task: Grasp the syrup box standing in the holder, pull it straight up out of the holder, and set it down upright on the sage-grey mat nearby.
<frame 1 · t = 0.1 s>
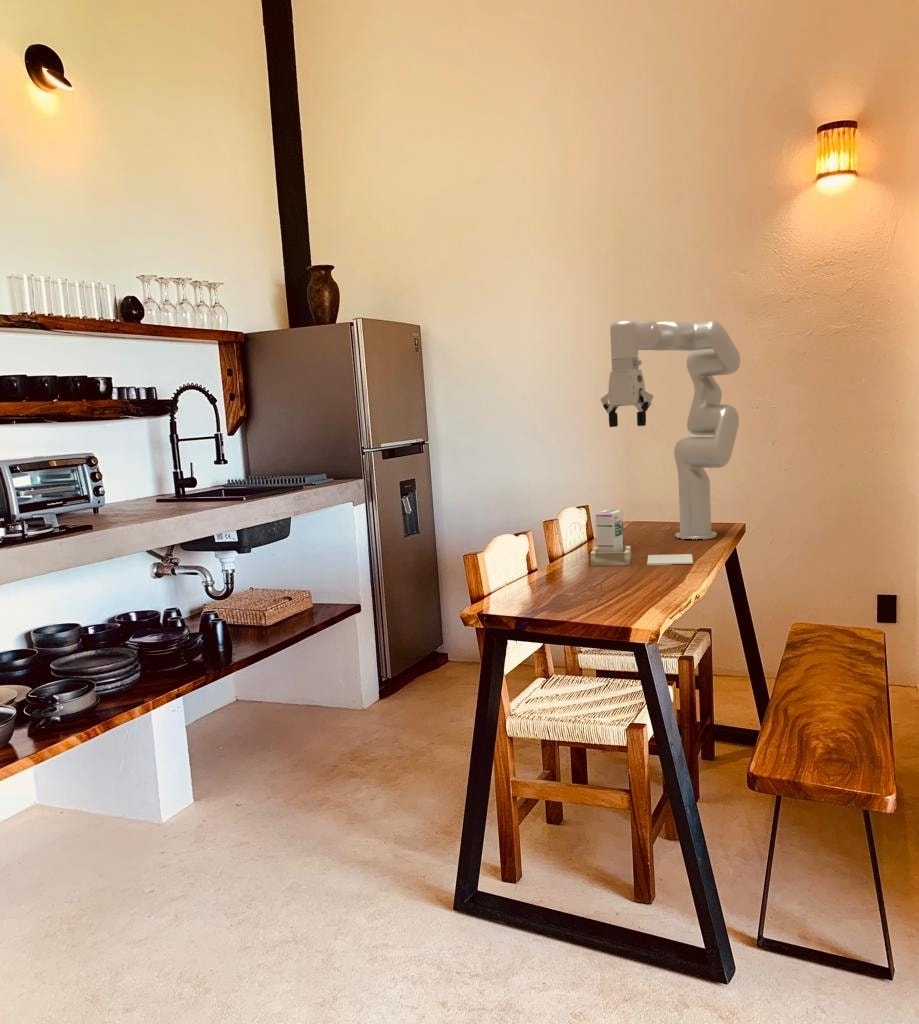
hand: (627, 426, 244), 37 cm above the table, tool pointing down, fingers open, 9 cm apart
syrup box: (611, 562, 240), resting in holder
holder: (611, 561, 240), on the table
mat: (670, 560, 236), on the table
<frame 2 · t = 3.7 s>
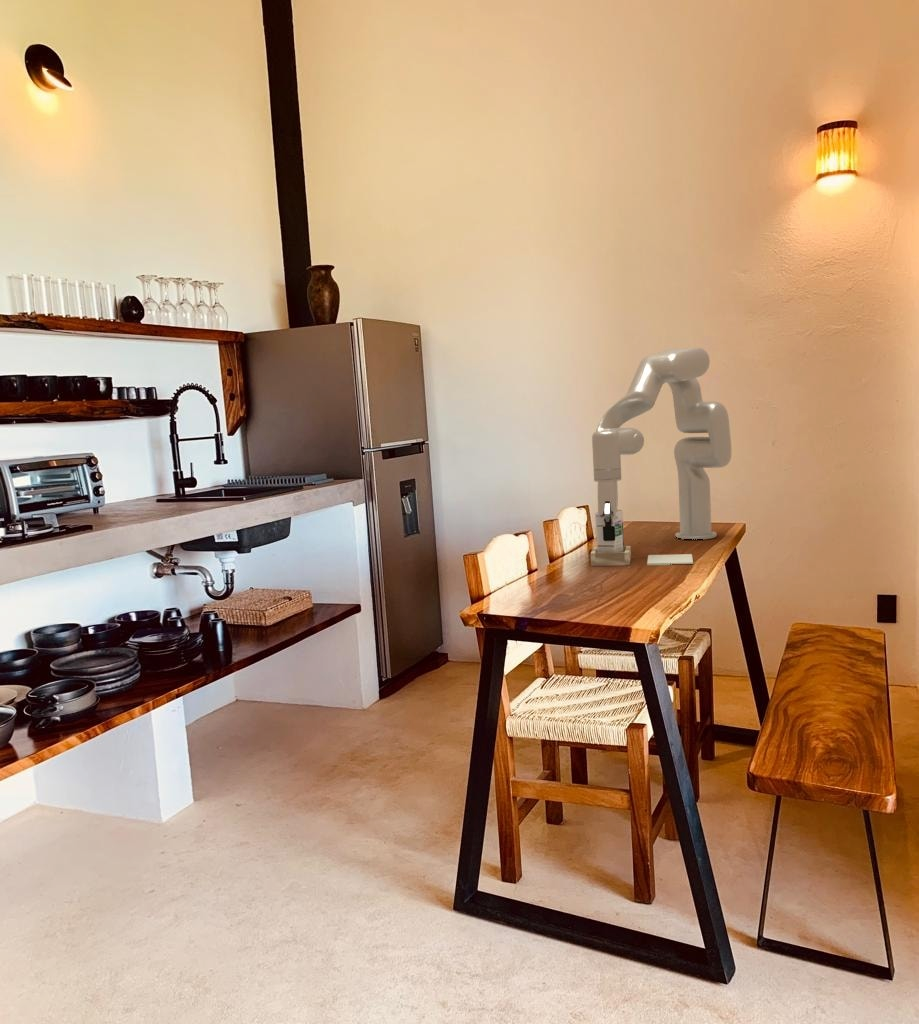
hand: (610, 537, 239), 7 cm above the table, tool pointing down, fingers closed on syrup box, 7 cm apart
syrup box: (611, 562, 240), resting in holder, touching gripper
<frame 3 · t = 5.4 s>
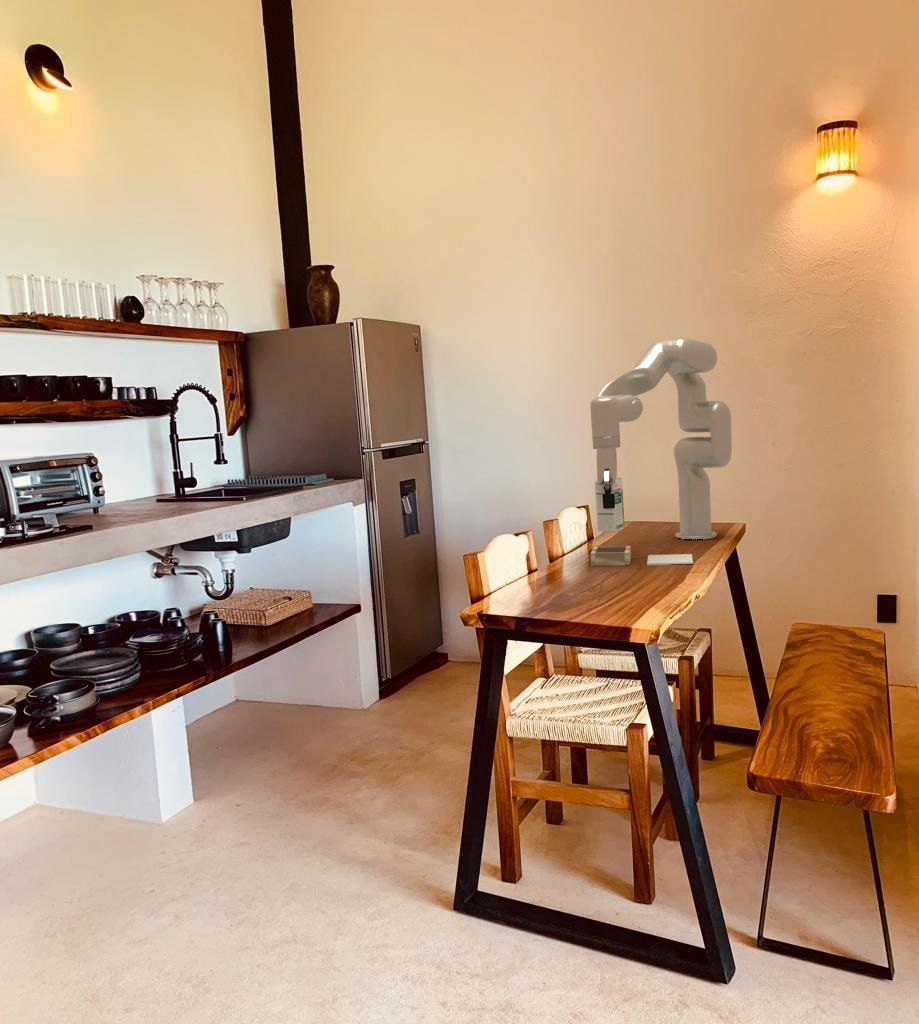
hand: (610, 505, 238), 16 cm above the table, tool pointing down, fingers closed on syrup box, 7 cm apart
syrup box: (610, 530, 239), point 9 cm above the table, touching gripper
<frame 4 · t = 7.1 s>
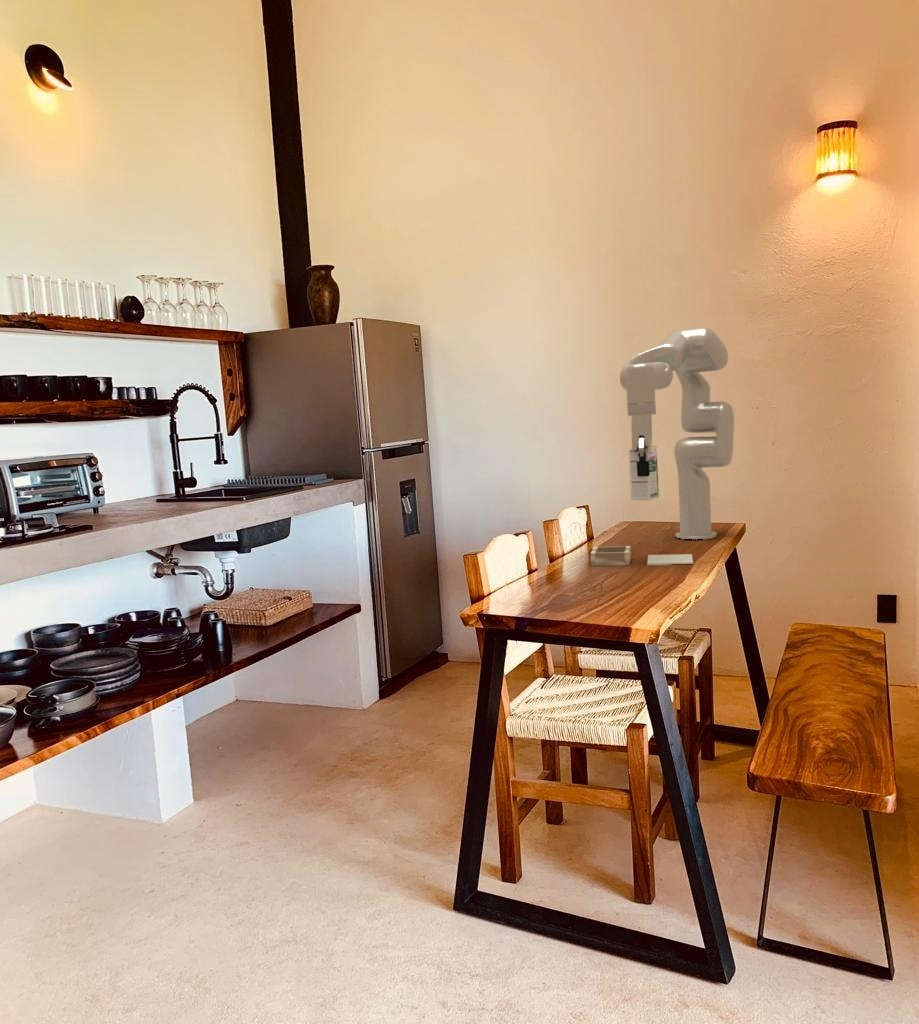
hand: (644, 474, 234), 24 cm above the table, tool pointing down, fingers closed on syrup box, 7 cm apart
syrup box: (644, 499, 235), point 17 cm above the table, touching gripper
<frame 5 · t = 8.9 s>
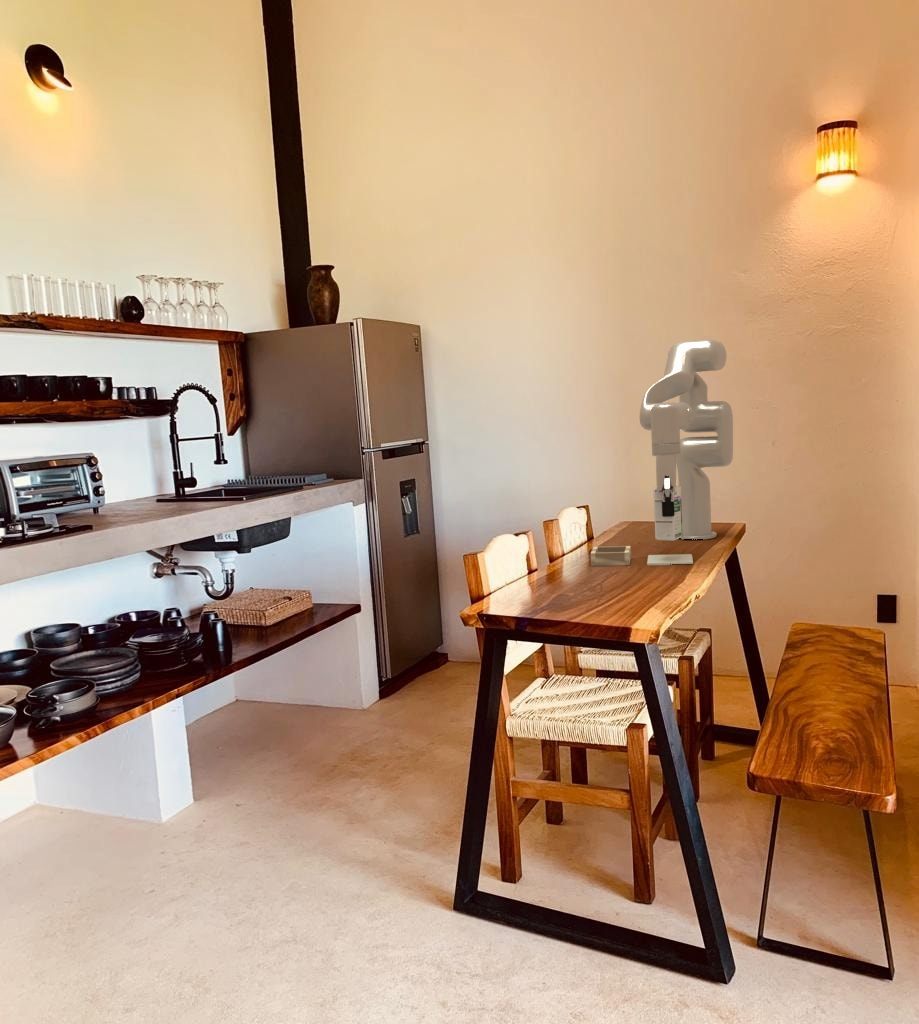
hand: (668, 513, 234), 13 cm above the table, tool pointing down, fingers closed on syrup box, 7 cm apart
syrup box: (668, 539, 235), point 6 cm above the table, touching gripper
when the fingers open (9 cm above the table, at t = 10.7 s): syrup box drops 1 cm, resting on mat.
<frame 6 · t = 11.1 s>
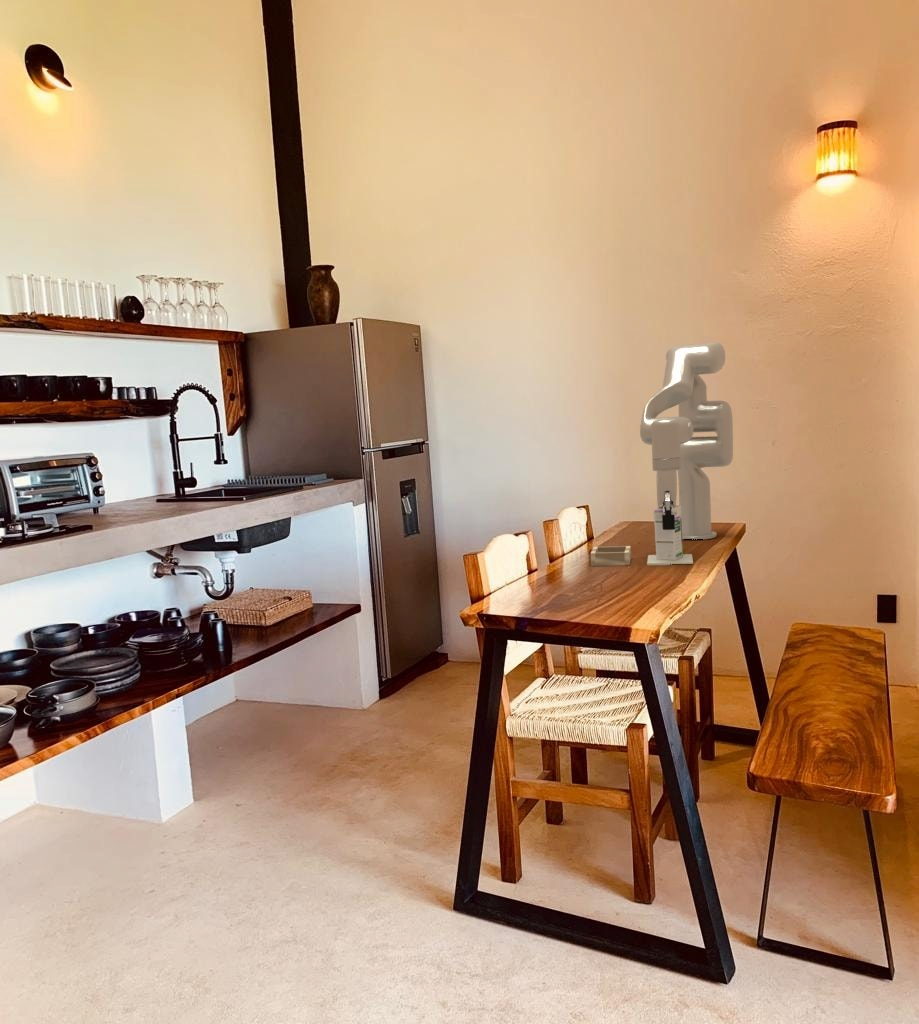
hand: (668, 526, 234), 10 cm above the table, tool pointing down, fingers open, 9 cm apart
syrup box: (669, 559, 236), resting on mat
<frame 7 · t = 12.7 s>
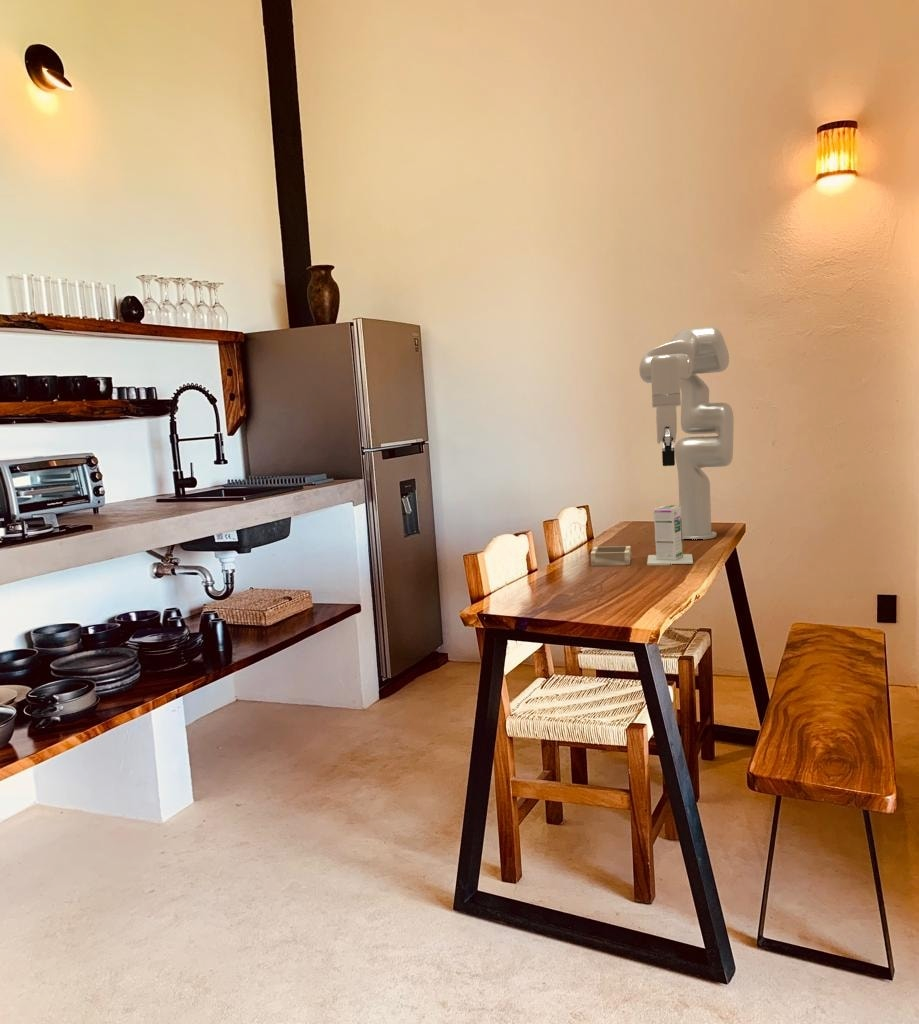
hand: (668, 463, 234), 27 cm above the table, tool pointing down, fingers open, 9 cm apart
nothing on the table moved.
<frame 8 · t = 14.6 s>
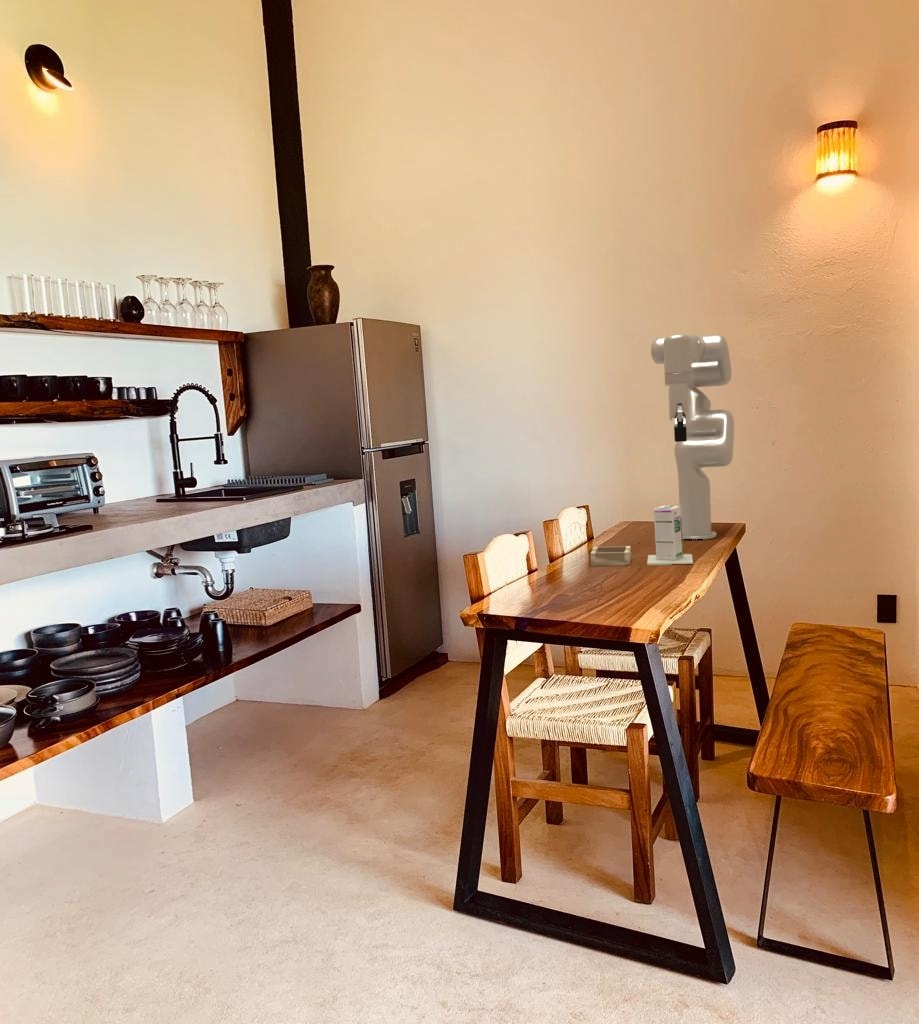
hand: (680, 440, 242), 32 cm above the table, tool pointing down, fingers open, 9 cm apart
nothing on the table moved.
at the end: syrup box inside the target area on the mat (0.3 cm from its centre), point 0.4 cm above the mat's base; syrup box tilted 0°; the gripper is holding nothing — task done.
